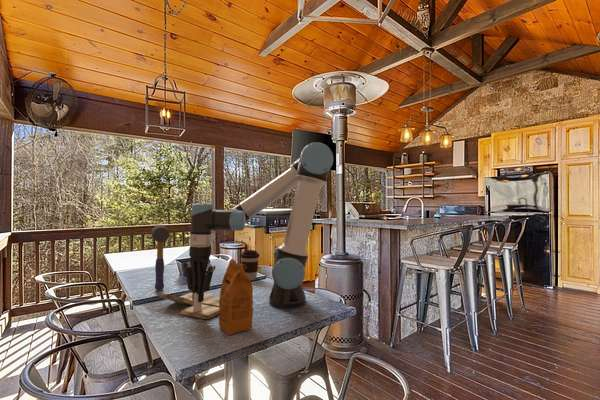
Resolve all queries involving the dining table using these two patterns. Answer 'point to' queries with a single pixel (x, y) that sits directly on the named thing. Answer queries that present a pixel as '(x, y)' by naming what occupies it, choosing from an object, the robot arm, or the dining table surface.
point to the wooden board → (207, 300)
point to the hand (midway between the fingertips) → (197, 310)
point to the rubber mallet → (159, 253)
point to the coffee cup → (250, 263)
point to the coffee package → (235, 300)
